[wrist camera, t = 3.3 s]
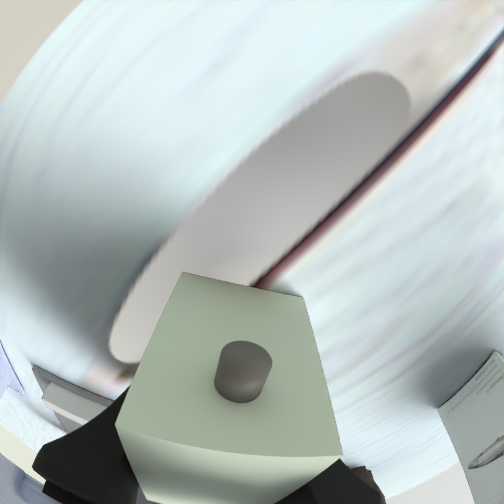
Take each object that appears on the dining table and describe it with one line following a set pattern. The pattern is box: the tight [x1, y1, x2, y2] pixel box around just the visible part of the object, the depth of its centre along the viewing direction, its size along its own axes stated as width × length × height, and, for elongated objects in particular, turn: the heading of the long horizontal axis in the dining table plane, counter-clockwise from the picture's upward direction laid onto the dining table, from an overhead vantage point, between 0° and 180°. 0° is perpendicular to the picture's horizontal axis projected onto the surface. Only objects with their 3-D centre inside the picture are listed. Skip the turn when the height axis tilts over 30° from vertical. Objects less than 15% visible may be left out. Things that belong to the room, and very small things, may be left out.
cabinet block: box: [115, 272, 343, 504], centre depth 9 cm, size 5×10×7 cm, turn 166°
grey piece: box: [32, 365, 161, 504], centre depth 14 cm, size 20×13×7 cm, turn 76°
